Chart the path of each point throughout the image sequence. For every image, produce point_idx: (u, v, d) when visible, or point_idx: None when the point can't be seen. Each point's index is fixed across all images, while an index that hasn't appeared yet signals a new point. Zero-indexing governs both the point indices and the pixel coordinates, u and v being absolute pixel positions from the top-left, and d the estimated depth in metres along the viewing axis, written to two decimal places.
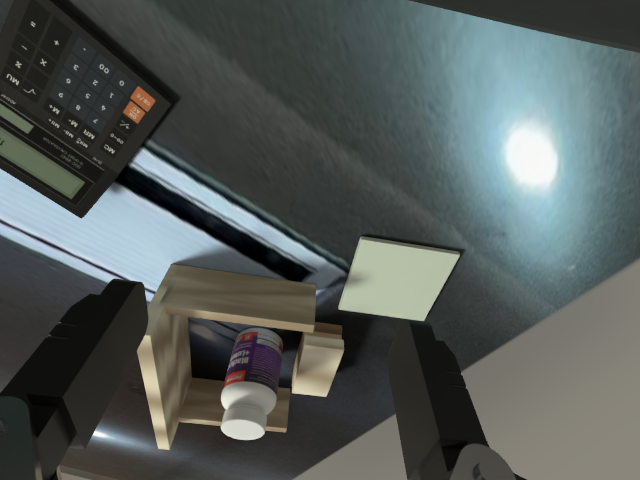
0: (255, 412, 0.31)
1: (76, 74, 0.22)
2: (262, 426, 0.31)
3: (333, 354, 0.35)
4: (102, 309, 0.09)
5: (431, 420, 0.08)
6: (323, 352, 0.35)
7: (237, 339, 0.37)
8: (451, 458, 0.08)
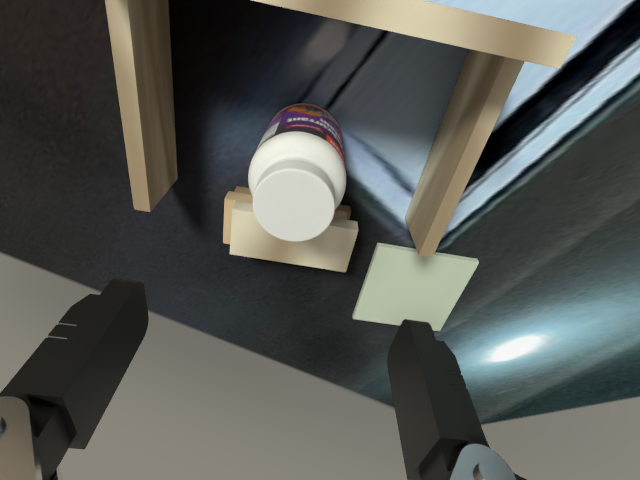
0: None
1: None
2: (307, 239, 0.18)
3: (336, 261, 0.26)
4: (102, 309, 0.09)
5: (431, 420, 0.08)
6: (341, 251, 0.26)
7: (329, 115, 0.22)
8: (451, 458, 0.08)
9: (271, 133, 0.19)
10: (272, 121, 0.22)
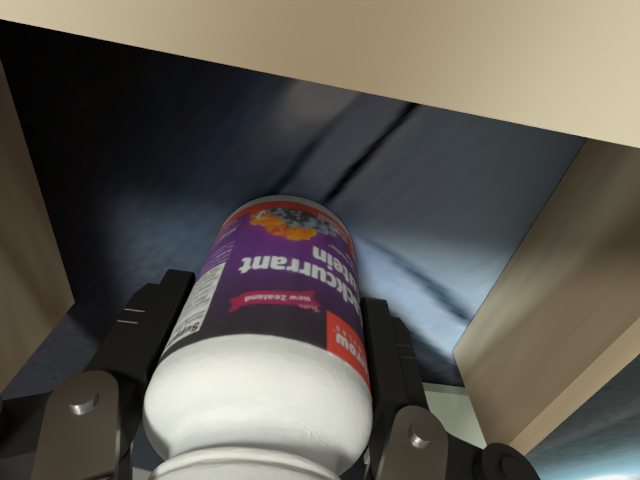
0: None
1: None
2: None
3: None
4: (164, 296, 0.09)
5: (375, 385, 0.09)
6: None
7: (330, 221, 0.12)
8: (391, 420, 0.08)
9: (198, 313, 0.08)
10: (219, 241, 0.11)
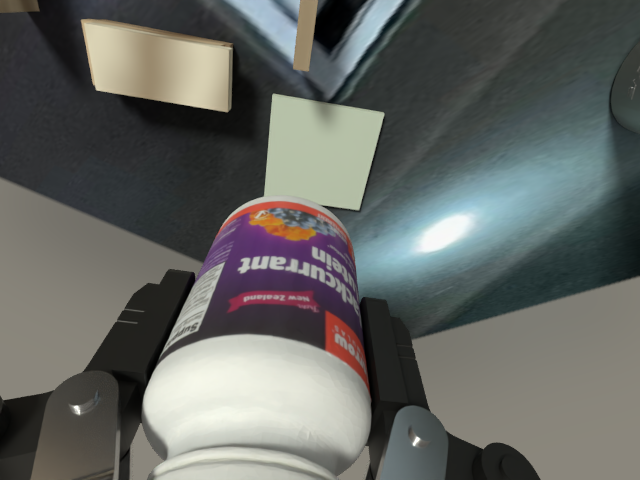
0: None
1: None
2: None
3: (214, 97, 0.24)
4: (164, 296, 0.09)
5: (376, 386, 0.09)
6: (216, 81, 0.24)
7: (330, 222, 0.12)
8: (391, 420, 0.08)
9: (197, 314, 0.08)
10: (218, 241, 0.11)
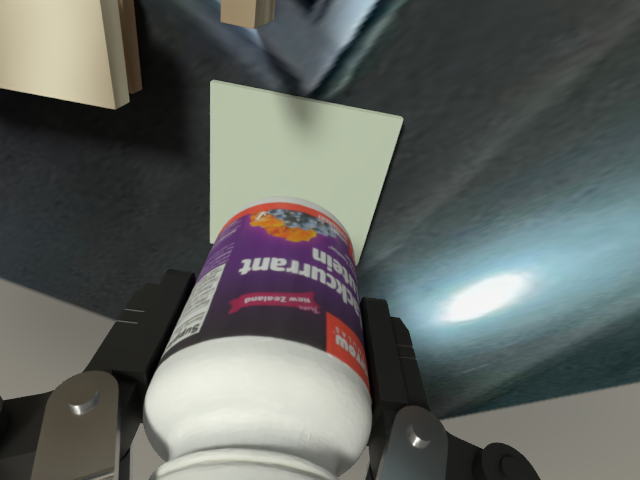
0: None
1: None
2: None
3: (85, 80, 0.13)
4: (164, 296, 0.09)
5: (375, 385, 0.09)
6: (83, 49, 0.12)
7: (330, 223, 0.12)
8: (391, 419, 0.08)
9: (198, 315, 0.08)
10: (219, 242, 0.11)
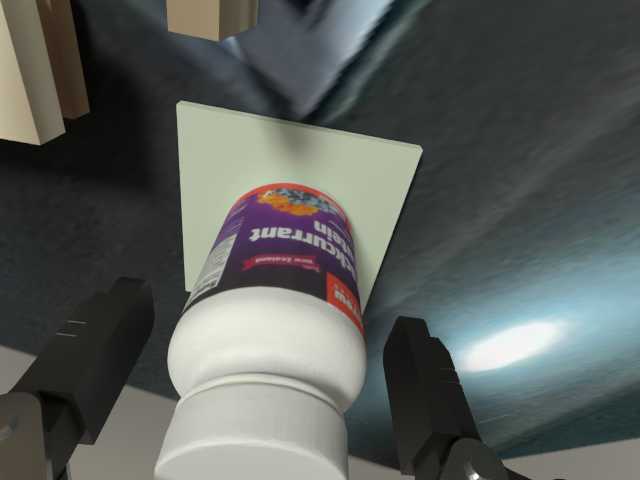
0: None
1: None
2: None
3: None
4: (110, 307, 0.09)
5: (424, 415, 0.08)
6: None
7: (330, 202, 0.13)
8: (444, 452, 0.08)
9: (215, 274, 0.09)
10: (229, 218, 0.12)
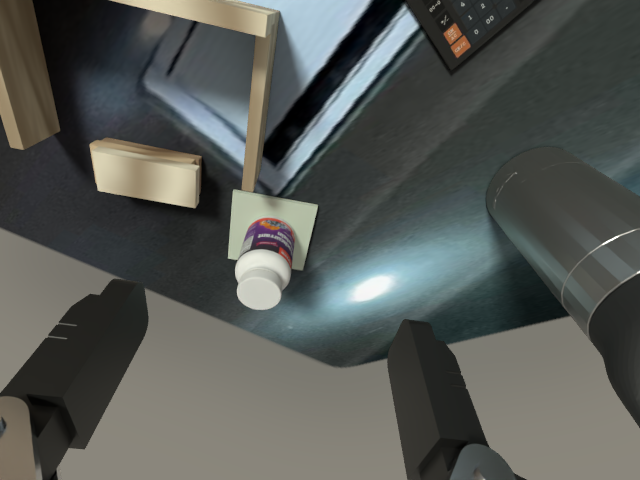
0: None
1: None
2: (267, 308, 0.32)
3: (185, 198, 0.33)
4: (102, 309, 0.09)
5: (431, 420, 0.08)
6: (186, 189, 0.33)
7: (285, 224, 0.37)
8: (451, 458, 0.08)
9: (248, 246, 0.33)
10: (250, 230, 0.36)
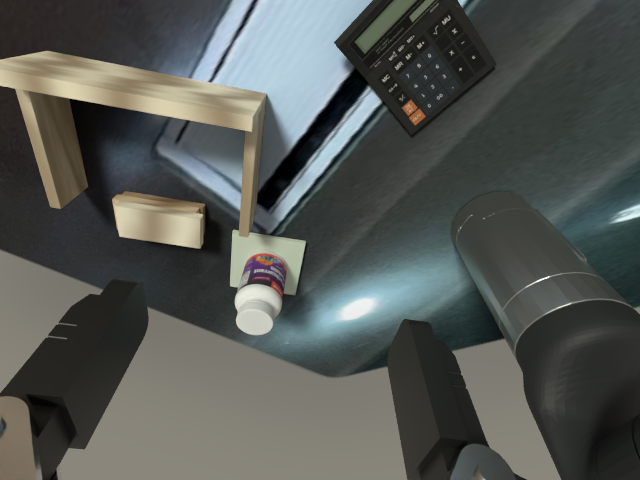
0: None
1: (440, 75, 0.32)
2: None
3: (191, 241, 0.40)
4: (102, 309, 0.09)
5: (431, 420, 0.08)
6: (192, 233, 0.39)
7: (277, 258, 0.43)
8: (451, 458, 0.08)
9: (245, 281, 0.39)
10: (247, 264, 0.42)
